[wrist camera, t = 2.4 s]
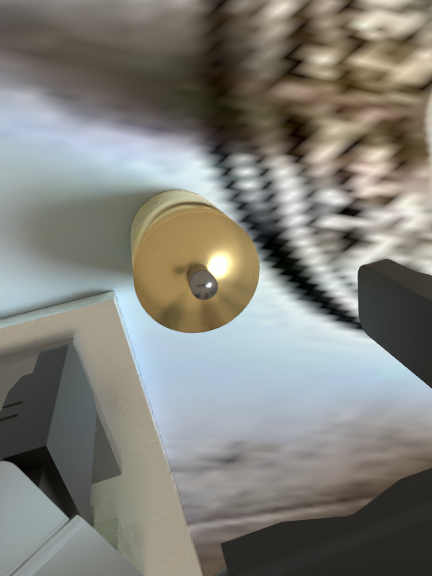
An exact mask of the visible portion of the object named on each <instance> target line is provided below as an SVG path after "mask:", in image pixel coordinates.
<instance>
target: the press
mask: <svg viewBox="0 0 432 576" xmlns="http://www.w3.org/2000/svg"><path fill="white" fill-rule="evenodd" d="M68 343H72V344H73V345H74V347H75V348H76V351H77V353H78V356H79V358H80V361H81V363H82V366H83V368H84V371H85V374H86V376H87V379H88V381H89V384H90V386H91V389H92V392H93V395H94V399H95V404H96V427H95V441H94V454H93V468H92V482H91V496H90V509H89V523H88V524H89V525H90V526H91V527H93V528H94V529H95V530H96V531H97V532H98V533H99V534H100V535H101V536H102V537H103V538H104V539H105V540H106V541H107V542H108V543H109V544H110V545H111V546H112V547H113V548H115V549H116V550H117V551H118V552H119V553H120V554H121V555H122V556H123V557H124V558H125V559H126V560H127V561H128V562H129V563H130V564H131V565H132V566H133V567H134V568H135V569H137V570H138V571H139V572H140V573H141V574H142V575H143V576H203V574H202V568H201V563H200V559H199V556H198V553H197V550H196V547H195V543H194V540H193V537H192V534H191V531H190V528H189V525H188V521H187V518H186V515H185V512H184V509H183V506H182V503H181V499H180V496H179V493H178V490H177V487H176V484H175V481H174V477H173V474H172V471H171V468H170V465H169V462H168V459H167V455H166V452H165V449H164V446H163V443H162V440H161V437H160V433H159V430H158V427H157V424H156V421H155V418H154V414H153V411H152V408H151V405H150V402H149V399H148V396H147V392H146V389H145V386H144V383H143V380H142V377H141V374H140V370H139V367H138V364H137V361H136V358H135V355H134V352H133V348H132V345H131V342H130V339H129V336H128V333H127V330H126V326H125V323H124V320H123V317H122V314H121V311H120V308H119V304H118V301H117V298H116V295H115V292H114V291H111V292H107V293H103V294H99V295H95V296H91V297H87V298H83V299H79V300H75V301H71V302H67V303H63V304H59V305H55V306H51V307H47V308H43V309H39V310H35V311H31V312H28V313H24V314H20V315H16V316H12V317H8V318H4V319H0V411H1V410H2V409H3V408H2V406H3V404H4V401H5V399H6V396H7V394H8V391H9V390H10V389H11V388H12V387H13V386H14V385H15V384H16V383H17V381H18V380H19V379H20V378H21V377H22V376H24V375H27V374H31V373H33V370H34V367H35V364H36V361H37V358H38V355H39V353H40V351H42V350H46V349H49V348H53V347H57V346H61V345H64V344H68Z"/></svg>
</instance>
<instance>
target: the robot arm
mask: <svg viewBox="0 0 432 576" xmlns="http://www.w3.org/2000/svg"><path fill="white" fill-rule="evenodd" d="M358 310H359V320H360V323H361V326H362V328H363V330H364V331H365V333H366V334H367V335H368V336H369V337H370V338H372V339H373V340H374V341H375V342H377V343H378V344H379V345H380V346H381V347H383V348H384V349H385V350H386V351H387V352H389V353H390V354H391V355H392V356H393V357H395V358H396V359H397V360H398V361H399V362H401V363H402V364H403V365H404V366H405V367H407V368H408V369H409V370H410V371H411V372H413V373H414V374H415V375H416V376H417V377H419V378H420V379H421V380H422V381H424V382H425V383H426V384H427V385H428V386H430V387H431V388H432V276H431V275H428V274H424V273H420V272H415V271H413V270H411V269H409V268H407V267H404V266H402V265H400V264H398V263H396V262H394V261H392V260H390V259H384V260H381V261H377V262H373V263H369V264H366V265H362V266H361V267H360V268H359V270H358ZM2 408H3V409H2V410H1V411H0V576H143V575H142V574H141V573H140V572H139V571H138V570H137V569H135V568H134V567H133V566H132V565H131V564H130V563H129V562H128V561H127V560H126V559H125V558H124V557H123V556H122V555H121V554H120V553H119V552H118V551H117V550H116V549H115V548H113V547H112V546H111V545H110V544H109V543H108V542H107V541H106V540H105V539H104V538H103V537H102V536H101V535H100V534H99V533H98V532H97V531H96V530H95V529H94V528H93V527H91V526H90V525H89V524H88V523H89V509H90V496H91V482H92V468H93V454H94V441H95V427H96V404H95V399H94V395H93V392H92V389H91V386H90V384H89V381H88V379H87V376H86V374H85V371H84V368H83V366H82V363H81V361H80V358H79V356H78V353H77V351H76V348H75V347H74V345H73V344H72V343H68V344H64V345H61V346H57V347H53V348H49V349H46V350H42V351H40V353H39V355H38V358H37V361H36V364H35V367H34V370H33V373H31V374H27V375H24V376H22V377H21V378H20V379H19V380H18V381H17V383H16V384H15V385H14V386H13V387H12V388H11V389H10V390H9V391H8V394H7V396H6V399H5V401H4V404H3V406H2ZM221 547H222V551H223V555H224V559H225V563H226V566H225V567H224V568H223V569H221V570H220V571H219V572H217V573H216V574H215V575H213V576H432V468H431V469H428V470H425V471H422V472H420V473H417V474H414V475H411V476H408V477H406V478H403V479H400V480H399V481H398V482H396V483H395V484H394V485H392V486H391V487H390V488H388V489H387V490H386V491H384V492H383V493H382V494H380V495H379V496H378V497H376V498H375V499H374V500H372V501H371V502H370V503H368V504H367V505H366V506H364V507H363V508H362V509H360V510H359V511H358V512H356V513H355V514H352V515H350V516H344V517H333V518H321V519H310V520H298V521H286V522H280V523H278V524H275V525H272V526H269V527H266V528H264V529H261V530H258V531H255V532H252V533H250V534H247V535H244V536H241V537H239V538H236V539H233V540H230V541H227V542H225V543H222V544H221Z"/></svg>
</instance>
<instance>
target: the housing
mask: <svg viewBox="0 0 432 576" xmlns="http://www.w3.org/2000/svg"><path fill="white" fill-rule="evenodd" d="M130 242H131V254H132V266H133V278H134V287H135V291H136V294H137V297H138V300H139V302H140V303H141V305H142V307H143V308H144V310H145V311H146V312H147V313H148V314H149V315H150V316H151V317H152V318H153V319H154V320H155V321H157V322H158V323H159V324H161V325H163V326H165V327H167V328H169V329H172V330H175V331H179V332H186V333H199V332H206V331H210V330H213V329H216V328H219V327H221V326H223V325H225V324H227V323H228V322H230V321H232V320H233V319H234V318H235V317H237V316H238V315H239V314H240V313H241V312H242V311H243V310H244V309H245V307H246V306H247V305H248V303H249V302H250V300H251V299H252V297H253V295H254V293H255V290H256V287H257V284H258V279H259V269H260V268H259V259H258V254H257V251H256V248H255V246H254V244H253V242H252V240H251V238H250V237H249V236H248V234H247V233H246V232H245V231H244V230H243V229H242V228H241V227H240V226H239V225H238V224H236V223H235V222H234V221H233V220H231V219H230V218H229V217H228V216H226V215H225V214H224V213H223V212H221V211H220V210H219V209H218V208H216V207H215V206H214V205H213V204H211V203H210V202H209V201H208V200H206V199H205V198H204V197H202V196H200V195H199V194H196V193H194V192H190V191H186V190H170V191H166V192H162V193H160V194H157V195H155V196H154V197H152V198H150V199H149V200H148V201H147V202H145V203H144V204H143V206H142V207H141V208H140V209H139V211H138V212H137V214H136V216H135V217H134V220H133V223H132V226H131V231H130Z"/></svg>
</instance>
